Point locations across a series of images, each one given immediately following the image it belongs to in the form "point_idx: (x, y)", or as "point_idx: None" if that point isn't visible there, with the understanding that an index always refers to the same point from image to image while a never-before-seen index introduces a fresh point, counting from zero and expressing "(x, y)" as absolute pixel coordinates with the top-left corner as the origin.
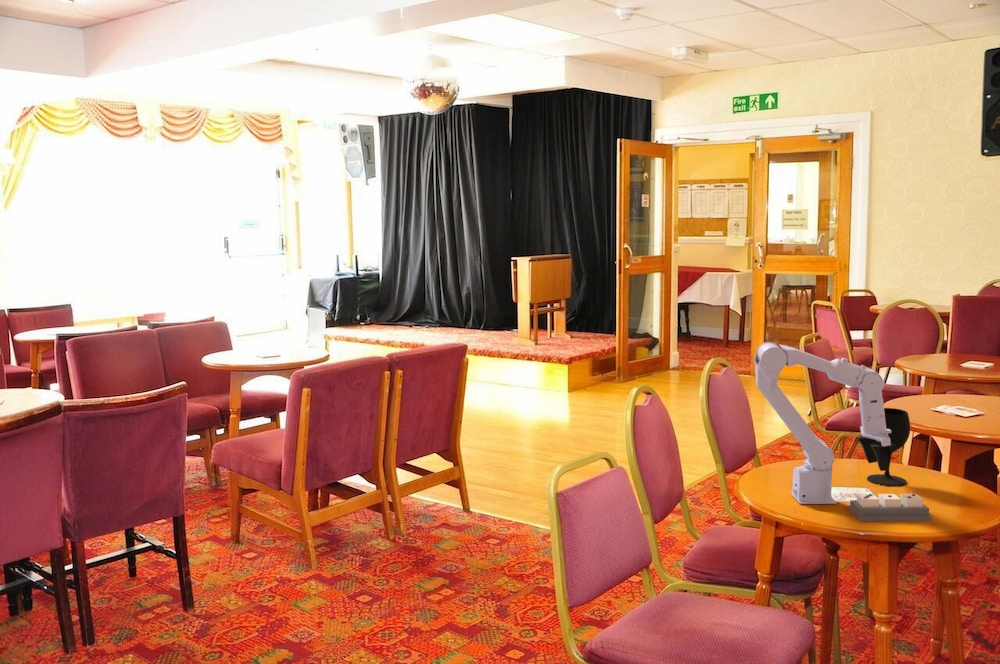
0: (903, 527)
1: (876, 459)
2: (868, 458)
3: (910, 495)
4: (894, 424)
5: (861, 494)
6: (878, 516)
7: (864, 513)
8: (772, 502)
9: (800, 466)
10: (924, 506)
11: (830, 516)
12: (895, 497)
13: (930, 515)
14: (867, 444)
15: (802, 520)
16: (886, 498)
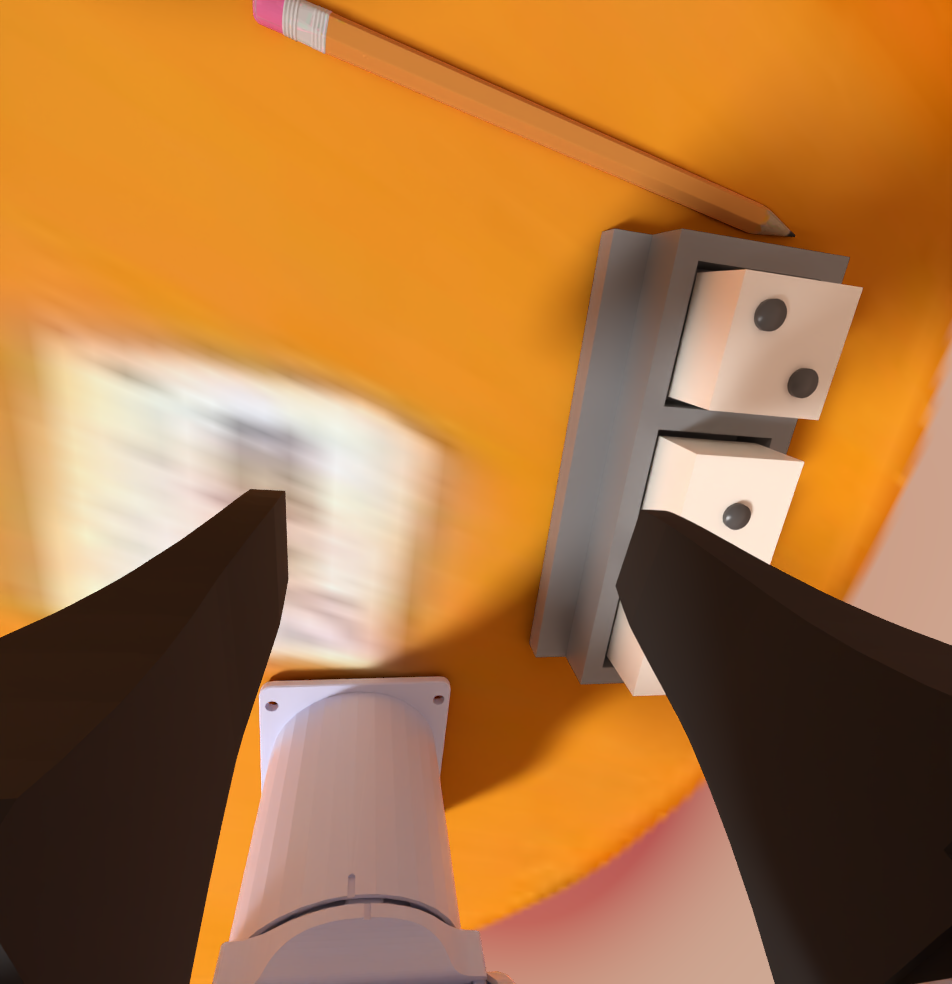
0: (831, 481)
1: (279, 512)
2: (277, 627)
3: (762, 343)
4: None
5: (647, 673)
6: None
7: None
8: None
9: None
10: (810, 270)
11: (608, 742)
12: (764, 485)
13: (772, 223)
14: (193, 842)
15: (626, 846)
16: (761, 554)
